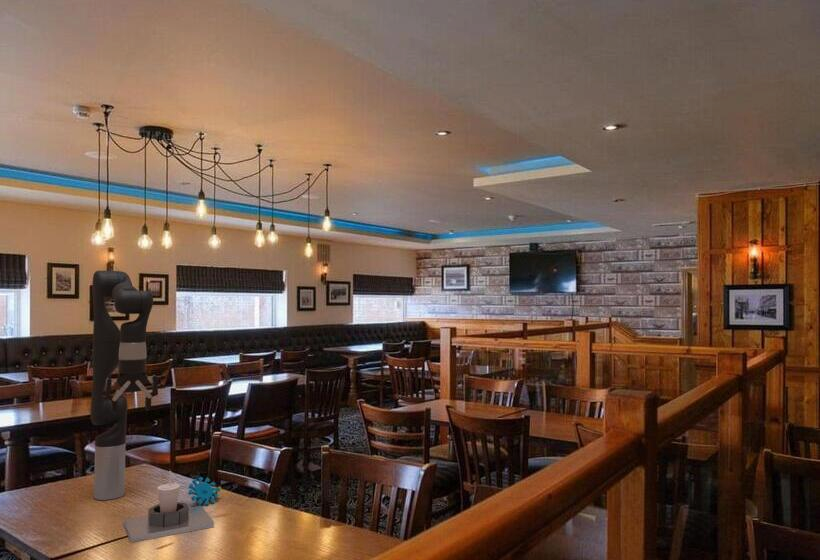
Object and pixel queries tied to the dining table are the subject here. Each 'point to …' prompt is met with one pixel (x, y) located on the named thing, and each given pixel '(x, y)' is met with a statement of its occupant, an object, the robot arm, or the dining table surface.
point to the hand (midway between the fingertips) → (131, 411)
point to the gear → (203, 491)
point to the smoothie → (168, 496)
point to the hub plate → (167, 522)
